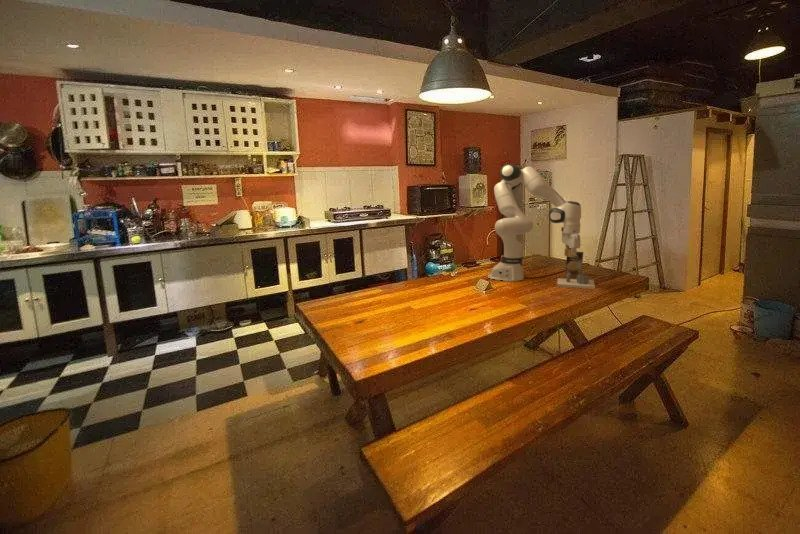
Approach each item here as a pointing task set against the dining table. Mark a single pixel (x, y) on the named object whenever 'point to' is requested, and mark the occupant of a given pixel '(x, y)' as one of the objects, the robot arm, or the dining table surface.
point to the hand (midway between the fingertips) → (570, 253)
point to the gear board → (576, 282)
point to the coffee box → (574, 265)
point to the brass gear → (569, 252)
